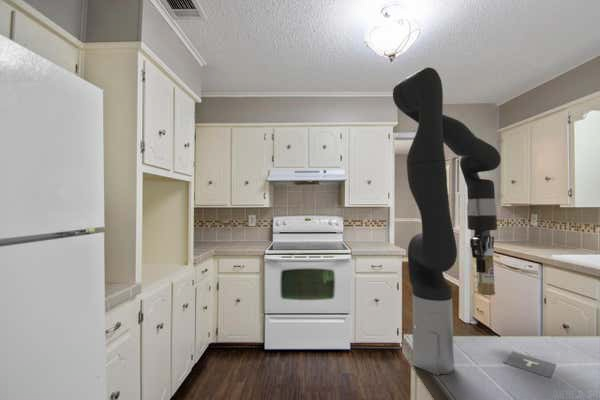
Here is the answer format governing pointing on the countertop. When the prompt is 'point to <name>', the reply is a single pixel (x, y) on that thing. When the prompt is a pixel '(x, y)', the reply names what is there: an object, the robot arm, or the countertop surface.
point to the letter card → (530, 364)
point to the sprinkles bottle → (487, 275)
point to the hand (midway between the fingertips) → (483, 271)
